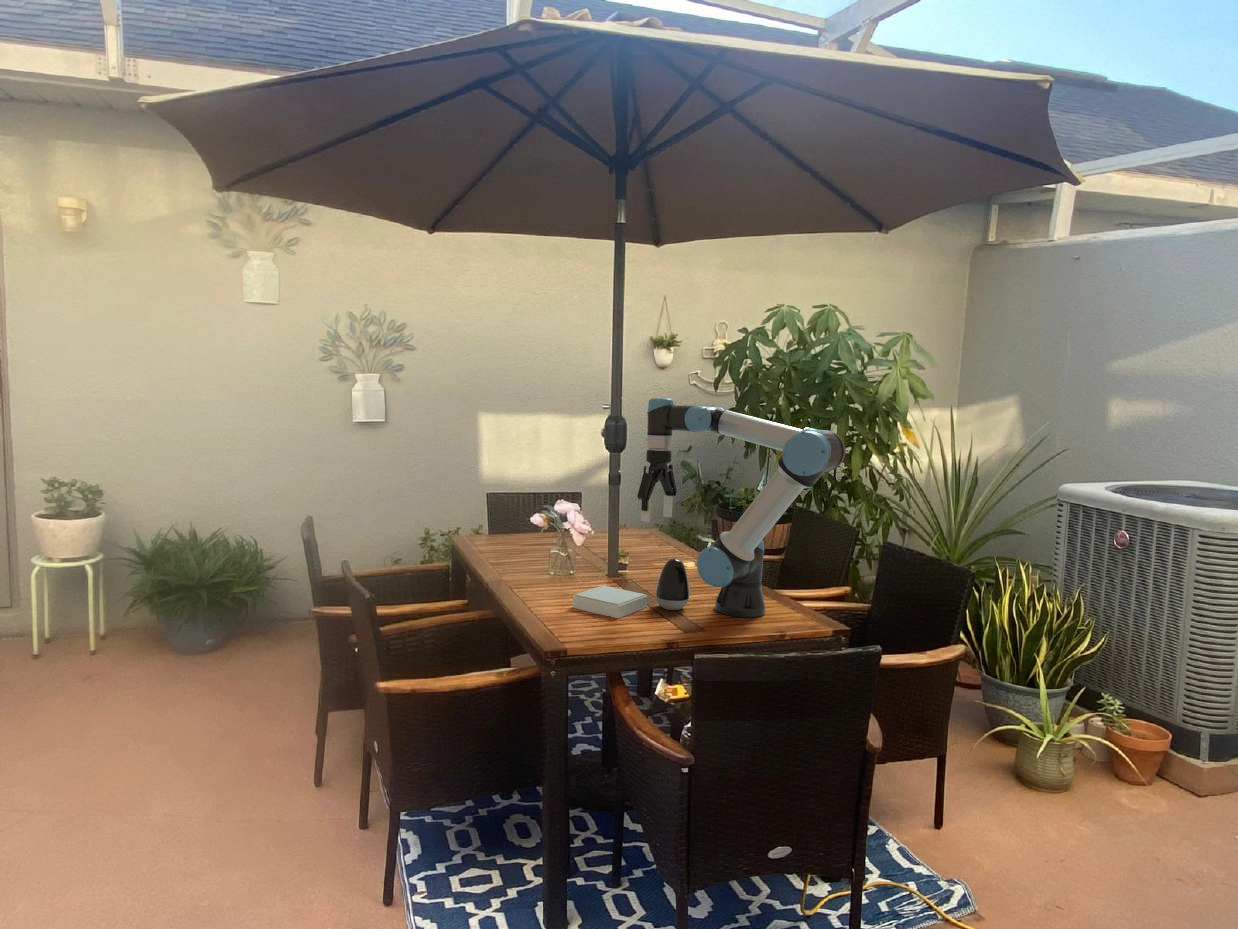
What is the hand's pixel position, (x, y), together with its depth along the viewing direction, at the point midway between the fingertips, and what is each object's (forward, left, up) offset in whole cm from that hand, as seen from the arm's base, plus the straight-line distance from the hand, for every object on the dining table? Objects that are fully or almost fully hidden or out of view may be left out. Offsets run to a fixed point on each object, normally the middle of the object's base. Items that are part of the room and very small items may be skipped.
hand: (656, 519), depth 253 cm
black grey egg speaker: (-7, 0, -27) cm, 27 cm away
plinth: (+7, +13, -26) cm, 30 cm away
